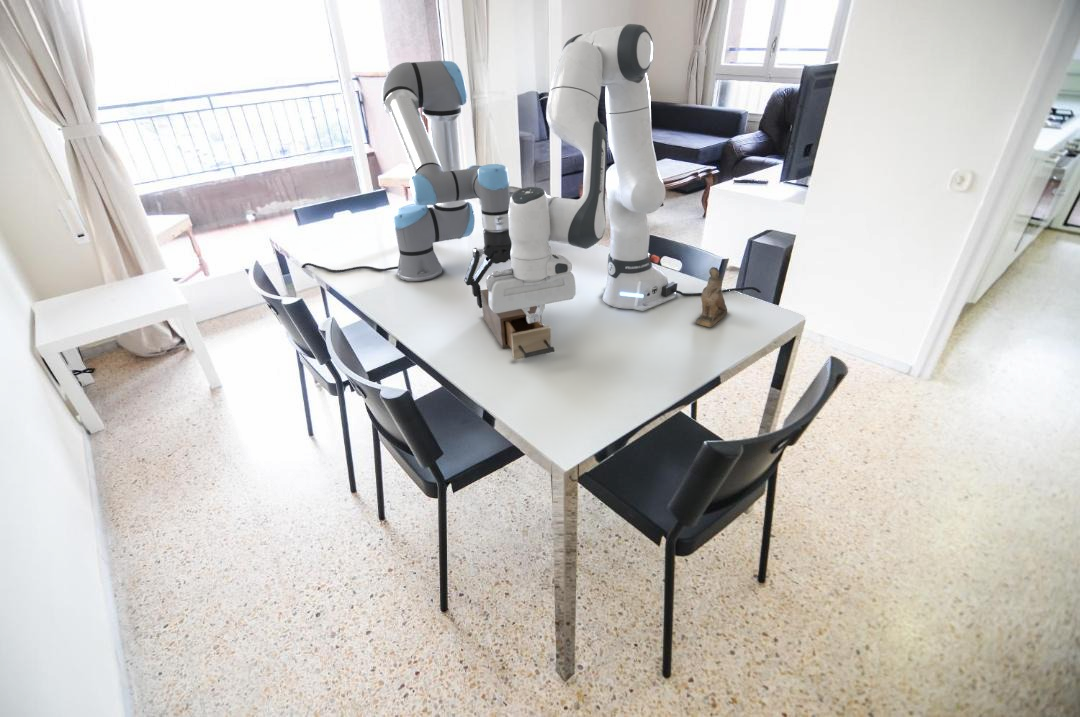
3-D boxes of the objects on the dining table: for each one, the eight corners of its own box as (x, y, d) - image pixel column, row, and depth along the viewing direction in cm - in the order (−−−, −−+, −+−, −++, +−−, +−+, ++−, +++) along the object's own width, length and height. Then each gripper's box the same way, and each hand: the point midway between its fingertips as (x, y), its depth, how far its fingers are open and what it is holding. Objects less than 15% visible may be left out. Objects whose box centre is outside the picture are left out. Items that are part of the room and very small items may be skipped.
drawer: (558, 361, 121) (558, 337, 117) (520, 370, 118) (519, 345, 115) (527, 321, 140) (526, 299, 136) (493, 328, 137) (491, 305, 133)
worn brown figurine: (709, 335, 136) (713, 280, 124) (691, 329, 139) (693, 274, 128) (730, 313, 142) (736, 258, 130) (712, 307, 145) (716, 253, 133)
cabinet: (542, 340, 132) (541, 310, 128) (502, 348, 129) (500, 318, 125) (519, 310, 148) (517, 283, 143) (483, 317, 145) (480, 290, 140)
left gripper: (453, 239, 123) (463, 315, 135) (546, 225, 130) (548, 299, 142) (447, 230, 129) (457, 304, 141) (537, 218, 136) (539, 289, 148)
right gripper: (489, 278, 104) (494, 336, 111) (578, 263, 110) (578, 319, 117) (481, 268, 109) (487, 324, 116) (567, 254, 115) (567, 308, 122)
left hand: (503, 301), depth 141 cm, fingers open, 13 cm apart
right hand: (533, 321), depth 117 cm, fingers closed
